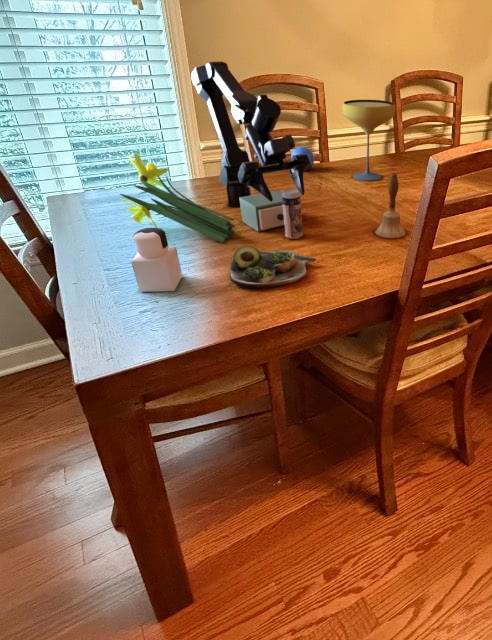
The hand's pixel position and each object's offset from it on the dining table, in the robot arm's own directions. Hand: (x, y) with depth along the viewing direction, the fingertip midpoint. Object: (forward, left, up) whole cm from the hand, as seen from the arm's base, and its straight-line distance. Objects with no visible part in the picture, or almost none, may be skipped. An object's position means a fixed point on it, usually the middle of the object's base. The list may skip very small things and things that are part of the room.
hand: (287, 197), depth 119 cm
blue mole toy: (+8, +67, -10) cm, 68 cm away
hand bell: (+27, -2, -10) cm, 29 cm away
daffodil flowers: (-28, +7, -10) cm, 31 cm away
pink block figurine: (-28, -25, -10) cm, 39 cm away
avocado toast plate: (-6, -22, -10) cm, 25 cm away
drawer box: (-6, +10, -10) cm, 15 cm away
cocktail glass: (+30, +54, -10) cm, 62 cm away
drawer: (-4, +8, -9) cm, 13 cm away
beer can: (+1, -1, -10) cm, 10 cm away
